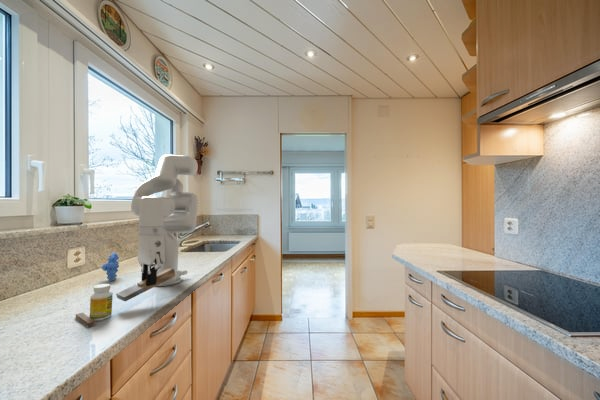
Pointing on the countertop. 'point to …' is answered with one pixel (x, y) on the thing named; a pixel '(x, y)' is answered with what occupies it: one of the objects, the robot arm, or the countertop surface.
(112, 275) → the grapes
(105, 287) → the supplement bottle
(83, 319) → the stop strip
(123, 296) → the turner
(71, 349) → the countertop surface
